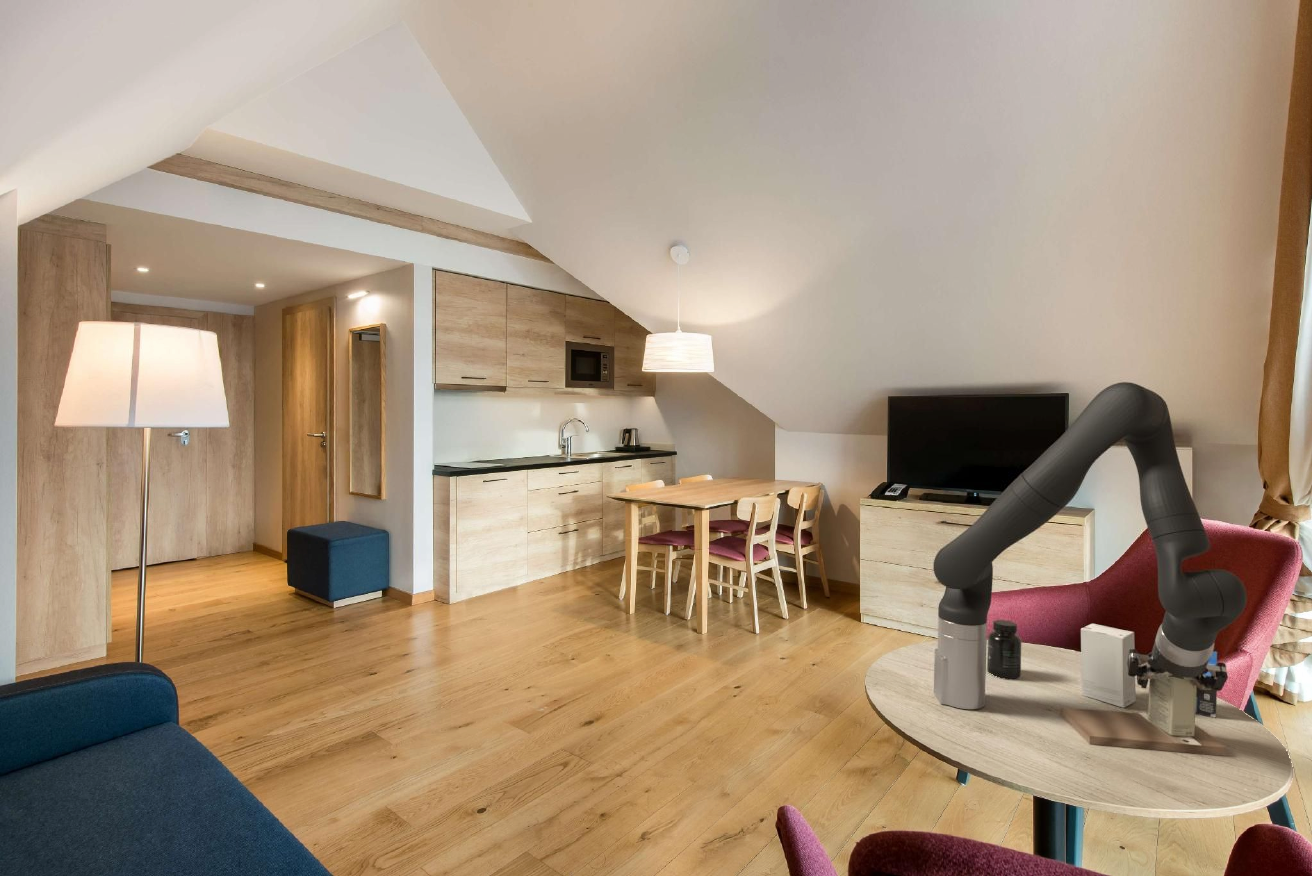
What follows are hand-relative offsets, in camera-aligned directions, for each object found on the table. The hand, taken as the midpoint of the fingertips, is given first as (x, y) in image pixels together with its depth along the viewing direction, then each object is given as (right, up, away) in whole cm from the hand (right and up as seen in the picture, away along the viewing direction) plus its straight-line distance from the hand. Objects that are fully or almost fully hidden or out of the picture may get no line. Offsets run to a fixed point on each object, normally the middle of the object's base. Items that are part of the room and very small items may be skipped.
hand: (1168, 688), depth 122 cm
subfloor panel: (-6, -9, 0) cm, 10 cm away
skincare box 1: (-1, -8, +15) cm, 17 cm away
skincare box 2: (-1, -7, -1) cm, 7 cm away
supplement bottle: (-16, -8, +28) cm, 33 cm away
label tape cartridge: (+12, -9, +11) cm, 19 cm away
